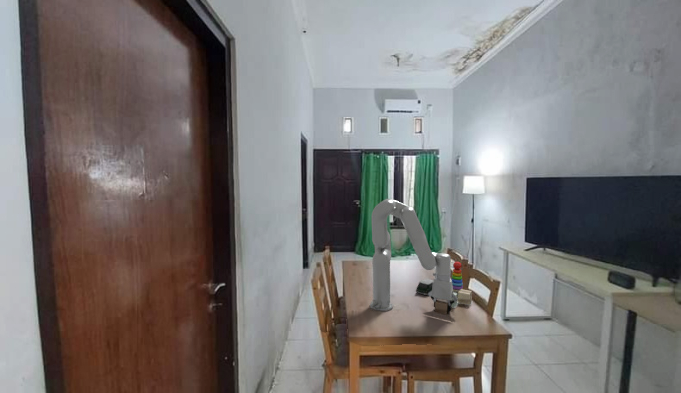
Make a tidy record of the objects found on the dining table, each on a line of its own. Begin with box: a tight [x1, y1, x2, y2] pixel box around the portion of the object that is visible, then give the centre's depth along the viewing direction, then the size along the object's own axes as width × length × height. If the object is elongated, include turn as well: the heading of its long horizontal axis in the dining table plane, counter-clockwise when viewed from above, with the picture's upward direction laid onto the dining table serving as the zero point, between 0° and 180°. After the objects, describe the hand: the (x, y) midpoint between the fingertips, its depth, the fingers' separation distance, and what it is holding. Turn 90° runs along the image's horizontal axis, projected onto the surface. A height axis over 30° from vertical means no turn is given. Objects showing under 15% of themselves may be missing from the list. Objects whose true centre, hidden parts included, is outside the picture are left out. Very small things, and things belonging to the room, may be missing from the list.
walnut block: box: [434, 299, 449, 315], centre depth 162 cm, size 6×6×6 cm
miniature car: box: [415, 278, 434, 297], centre depth 191 cm, size 9×18×8 cm, turn 134°
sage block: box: [451, 292, 458, 308], centre depth 171 cm, size 6×6×6 cm
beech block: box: [457, 289, 473, 306], centre depth 174 cm, size 6×6×6 cm
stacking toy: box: [450, 261, 464, 293], centre depth 192 cm, size 8×8×19 cm
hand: (442, 310), depth 162 cm, fingers closed on walnut block, 6 cm apart
